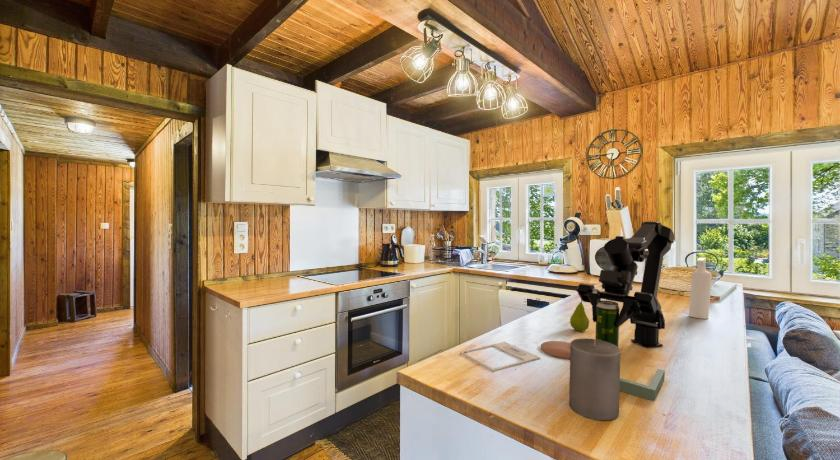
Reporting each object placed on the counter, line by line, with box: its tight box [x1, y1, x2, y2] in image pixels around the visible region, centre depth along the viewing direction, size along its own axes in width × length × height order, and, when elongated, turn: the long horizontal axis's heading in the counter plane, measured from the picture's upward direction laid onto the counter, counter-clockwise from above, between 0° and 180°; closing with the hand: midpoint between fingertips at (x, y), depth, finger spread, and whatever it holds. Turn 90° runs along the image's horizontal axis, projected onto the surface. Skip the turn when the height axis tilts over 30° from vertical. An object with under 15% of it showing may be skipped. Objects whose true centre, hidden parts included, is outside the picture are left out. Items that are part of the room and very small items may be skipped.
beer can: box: [595, 300, 620, 348], centre depth 93 cm, size 5×5×12 cm
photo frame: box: [459, 341, 541, 373], centre depth 104 cm, size 15×1×18 cm
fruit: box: [569, 299, 590, 332], centre depth 128 cm, size 6×6×12 cm
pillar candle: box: [568, 337, 621, 421], centre depth 75 cm, size 10×10×15 cm
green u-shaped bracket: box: [620, 368, 666, 402], centre depth 90 cm, size 14×17×2 cm
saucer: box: [540, 340, 571, 360], centre depth 108 cm, size 13×13×1 cm
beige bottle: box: [688, 257, 713, 320], centre depth 148 cm, size 7×12×25 cm, turn 131°
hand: (605, 323), depth 92 cm, fingers closed on beer can, 5 cm apart
